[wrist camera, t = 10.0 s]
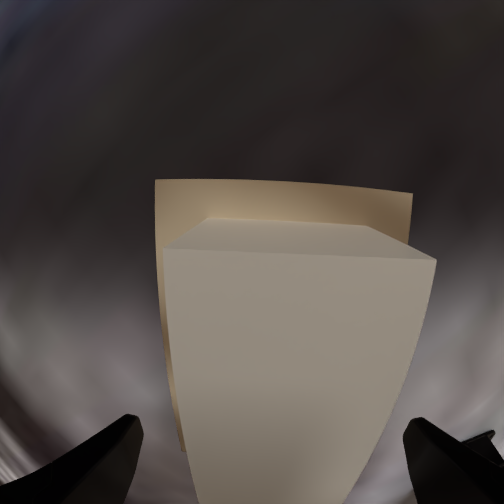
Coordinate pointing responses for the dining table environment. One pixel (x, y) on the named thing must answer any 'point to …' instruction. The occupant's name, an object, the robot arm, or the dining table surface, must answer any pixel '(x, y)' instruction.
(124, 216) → the dining table surface
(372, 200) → the base
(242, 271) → the block
